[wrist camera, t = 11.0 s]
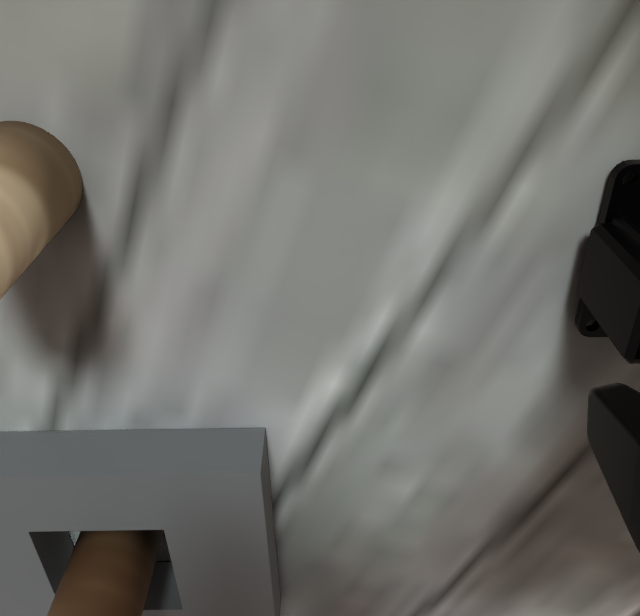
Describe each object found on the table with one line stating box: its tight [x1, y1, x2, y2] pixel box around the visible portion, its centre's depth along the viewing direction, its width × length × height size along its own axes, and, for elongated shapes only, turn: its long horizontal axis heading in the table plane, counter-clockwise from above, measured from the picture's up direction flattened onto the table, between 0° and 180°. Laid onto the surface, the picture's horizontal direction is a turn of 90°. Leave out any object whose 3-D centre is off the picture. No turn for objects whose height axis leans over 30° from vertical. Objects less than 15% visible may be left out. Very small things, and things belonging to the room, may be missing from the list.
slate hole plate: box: [0, 428, 281, 616], centre depth 28 cm, size 14×12×2 cm
